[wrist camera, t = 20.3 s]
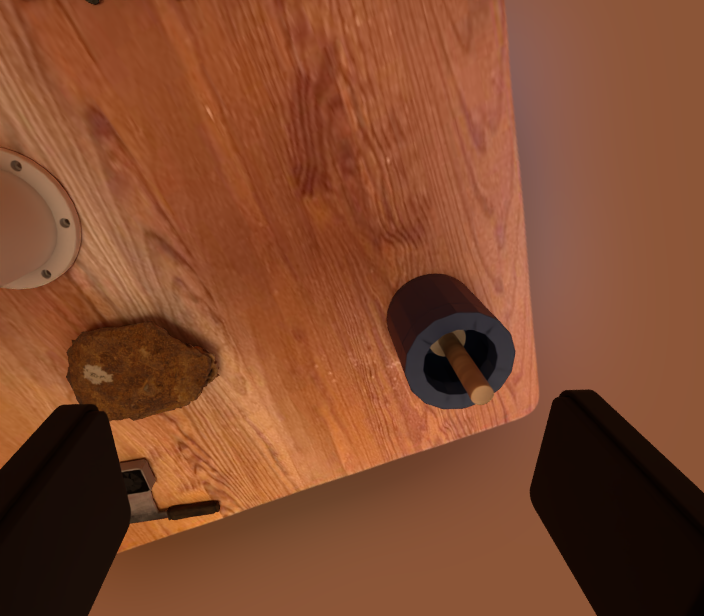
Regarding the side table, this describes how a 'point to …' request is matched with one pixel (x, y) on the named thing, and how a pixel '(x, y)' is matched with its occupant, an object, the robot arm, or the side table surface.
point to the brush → (464, 366)
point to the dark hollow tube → (440, 319)
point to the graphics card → (137, 477)
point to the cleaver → (147, 510)
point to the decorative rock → (137, 370)
